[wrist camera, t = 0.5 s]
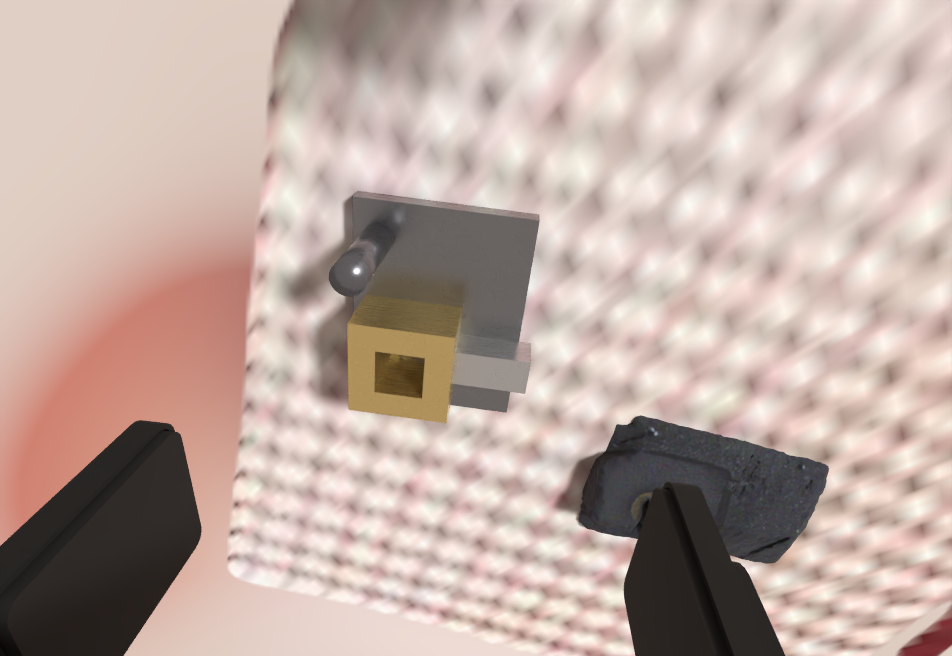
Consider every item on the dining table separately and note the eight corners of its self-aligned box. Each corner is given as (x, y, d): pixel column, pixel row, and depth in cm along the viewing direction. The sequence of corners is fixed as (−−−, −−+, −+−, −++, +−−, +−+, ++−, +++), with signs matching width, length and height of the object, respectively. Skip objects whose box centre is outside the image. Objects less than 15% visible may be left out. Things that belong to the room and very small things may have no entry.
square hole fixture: (358, 191, 40) (330, 216, 34) (552, 216, 40) (556, 245, 34) (358, 382, 49) (337, 426, 43) (517, 403, 48) (516, 451, 43)
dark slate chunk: (760, 560, 57) (778, 601, 52) (565, 515, 56) (568, 553, 52) (840, 459, 49) (869, 497, 45) (616, 405, 48) (625, 439, 44)
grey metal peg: (363, 221, 40) (328, 259, 33) (394, 225, 40) (366, 264, 33) (363, 250, 41) (329, 293, 34) (393, 254, 41) (366, 298, 34)
